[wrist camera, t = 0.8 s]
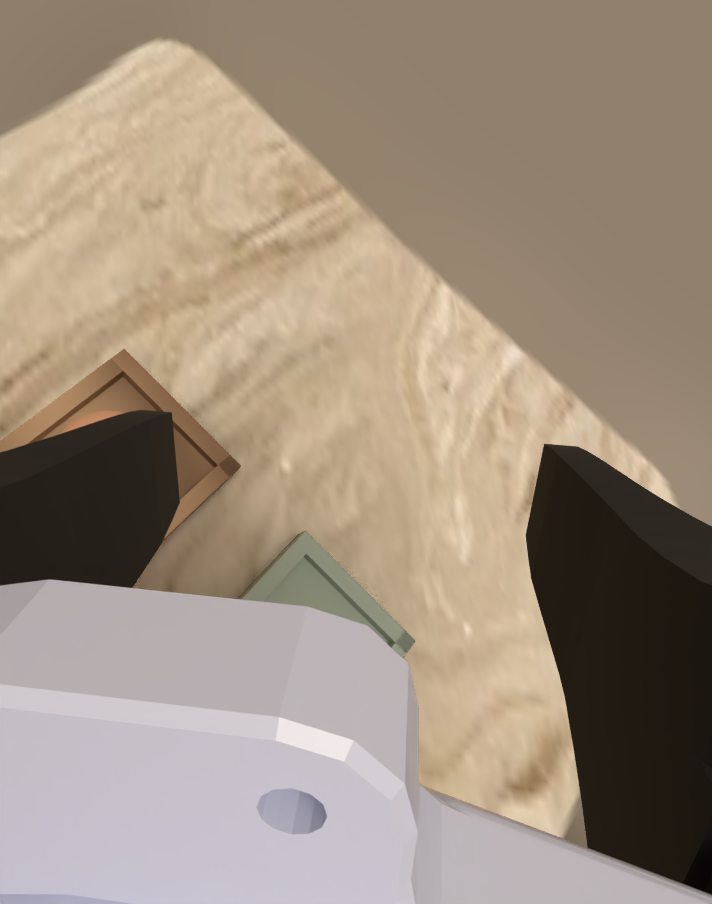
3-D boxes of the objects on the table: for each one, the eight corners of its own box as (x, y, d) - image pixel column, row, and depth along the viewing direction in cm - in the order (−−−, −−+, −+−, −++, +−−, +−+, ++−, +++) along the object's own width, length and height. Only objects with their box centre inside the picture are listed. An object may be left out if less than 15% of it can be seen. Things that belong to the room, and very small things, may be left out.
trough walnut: (-123, 810, 21) (-137, 821, 20) (-285, 667, 20) (-308, 669, 19) (236, 471, 28) (240, 465, 27) (123, 359, 27) (124, 348, 26)
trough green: (115, 1022, 22) (114, 1043, 20) (-35, 889, 21) (-43, 904, 20) (404, 640, 29) (415, 640, 28) (298, 534, 28) (305, 530, 27)
